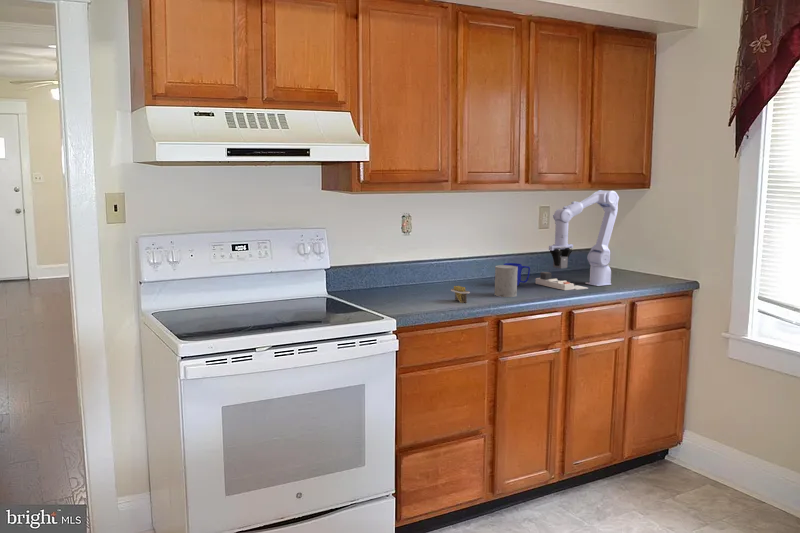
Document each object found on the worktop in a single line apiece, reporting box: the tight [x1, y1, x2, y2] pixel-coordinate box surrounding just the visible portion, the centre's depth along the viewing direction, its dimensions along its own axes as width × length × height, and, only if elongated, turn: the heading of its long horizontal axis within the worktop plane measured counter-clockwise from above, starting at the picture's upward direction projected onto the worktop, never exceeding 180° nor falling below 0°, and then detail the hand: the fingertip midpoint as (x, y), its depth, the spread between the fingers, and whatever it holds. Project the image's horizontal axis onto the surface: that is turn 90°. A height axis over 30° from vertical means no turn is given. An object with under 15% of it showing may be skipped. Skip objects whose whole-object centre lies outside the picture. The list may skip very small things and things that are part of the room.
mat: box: [573, 285, 589, 291], centre depth 310 cm, size 7×7×1 cm
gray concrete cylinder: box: [494, 264, 518, 298], centre depth 290 cm, size 10×10×12 cm
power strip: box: [535, 271, 575, 291], centre depth 314 cm, size 6×20×6 cm, turn 29°
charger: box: [552, 256, 569, 269], centre depth 310 cm, size 4×5×5 cm
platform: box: [450, 285, 471, 304], centre depth 275 cm, size 12×18×7 cm, turn 30°
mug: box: [503, 262, 531, 287], centre depth 314 cm, size 8×12×10 cm
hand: (560, 265), depth 311 cm, fingers closed on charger, 4 cm apart
